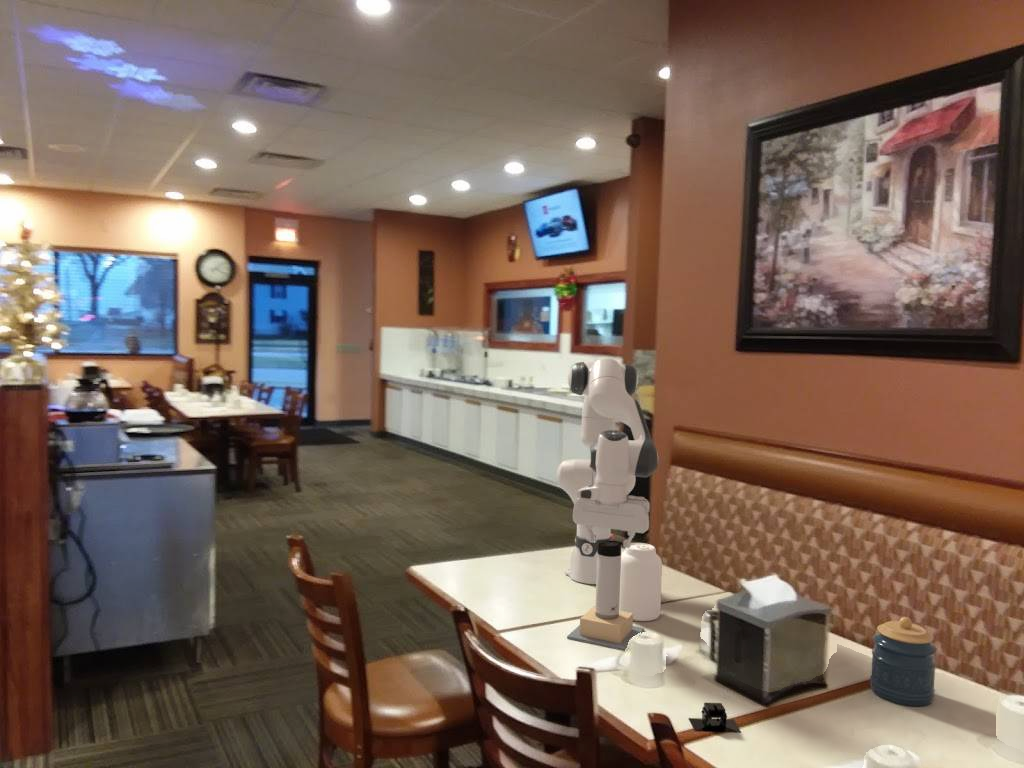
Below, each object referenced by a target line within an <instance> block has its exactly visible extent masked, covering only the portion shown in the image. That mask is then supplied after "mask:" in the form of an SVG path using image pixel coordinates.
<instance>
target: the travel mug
mask: <svg viewBox="0 0 1024 768" xmlns="http://www.w3.org/2000/svg"><path fill="white" fill-rule="evenodd" d="M623 545H624V544H623V541H619V540H612V541H603V542H600V543H599V544H598V553H597V555H598V556H597V579H596V584H595V585H596V586H595V588H596V589H595V605H594V606H595V608H596V609H595V615H596V616H597V617H599V618H602V619H616V618H618V617H619V600H620V574H621V553H622V546H623Z"/></svg>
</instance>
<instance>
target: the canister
mask: <svg viewBox="0 0 1024 768" xmlns="http://www.w3.org/2000/svg"><path fill="white" fill-rule="evenodd" d="M876 629H877V631H878V632H876V633H875V634H873V636H872V641H873V642H874V647H873V649H872V651H871V654H872V656H871V657H872V659H871V673H870V674H871V675H870V678H869V679H870V680H869V682H870V688H871V691H872V692H873V693H874V694H875V695H877V696H879V697H880V698H882V699H884V700H886V701H888V702H891V703H895V704H899V705H903V706H909V707H910V706H911V707H923V706H928V705H931V704H932V702H933V700H934V697H935V678H936V677H935V676H936V668H937V662H936V660H935V654H936V653H937V651H938V648H937V645H935V644H934V643H933V641H934V639H935V638H934V635H933V634H932V633H930V632H929V631H927V630H926V628H924V627H922V626H920V625H918V624H915V623H913V622H912V620H911V619H910V617H907V616H902V617H901V618H900V619H899V620H890V621H886V622H884V623H881V624H879V625H878V626H877V627H876Z"/></svg>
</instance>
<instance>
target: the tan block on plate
mask: <svg viewBox="0 0 1024 768" xmlns="http://www.w3.org/2000/svg"><path fill="white" fill-rule="evenodd" d="M595 606H596V605H594V606H592V608H590V609H589V610H588V611H587V612H586V613H584V614H583V615H582V616H581V617H580V618H579V625H578V626H577V627H575V629H573V630H572V631H571V632H570V633H569V634H568V635H567V637H566V639H569V640H573V641H577V642H583V643H587V644H592V645H596V646H602V647H606V648H611V649H616V650H620V651H625V649H626V648H627V645H628V642H629V640H630V639H631V638H632V637H633V636H635V635H637V634H638V633H640V632H642V633H643V632H644V631H645V628H644V627H641V626H636V625H633V624H634V620H633V613H630V612H624V611H619V617H618V618H616V619H602V618H599V617H597V616H596V615H595V609H596V608H595Z"/></svg>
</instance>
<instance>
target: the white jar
mask: <svg viewBox="0 0 1024 768" xmlns="http://www.w3.org/2000/svg"><path fill="white" fill-rule="evenodd" d="M662 576H663V562H662V558H661V557H660V556H659V554H657V550H656V547H655V546H654V545H652V544H649V543H645V542H631V546H630V548H625V547H624V550H623V551H622V552H621V574H620V600H619V611H624V612H630V613H633V622H634V621H636V622H649V621H654V620H657V619H658V618H659V617H660V615H661V602H662V601H661V600H662V580H663V579H662Z"/></svg>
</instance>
